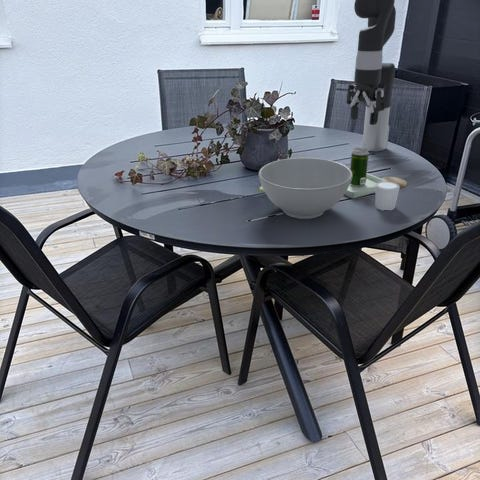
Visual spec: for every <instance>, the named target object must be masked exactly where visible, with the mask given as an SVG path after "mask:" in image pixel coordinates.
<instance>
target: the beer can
mask: <svg viewBox="0 0 480 480" xmlns="http://www.w3.org/2000/svg"><path fill="white" fill-rule="evenodd" d="M350 153H351V155H350V165H349V166H350V168H349V169H350V170H351V171H352V174H353V177H352V180H351V183H350V185H351V186H352V187H363V186H364V185H365V184H366V175H367V173H368V163H369V155H370V154H369V151H368V149H366V148H362V147H354V148H352V150H351V152H350Z"/></svg>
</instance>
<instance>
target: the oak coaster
mask: <svg viewBox="0 0 480 480" xmlns="http://www.w3.org/2000/svg"><path fill="white" fill-rule="evenodd" d="M381 179H383V180H386V181H388V182H394V183H397V184H398V185H399V186H400V188H399V189H401V188H402V189H403V188H405V187H406V186H407V184H408V182H407V181H406V179H403V178H400V177H394V176H389V177H388V176H387V177H382V178H381Z"/></svg>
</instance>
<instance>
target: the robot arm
mask: <svg viewBox="0 0 480 480" xmlns="http://www.w3.org/2000/svg"><path fill="white" fill-rule="evenodd" d="M396 12H397V11H396V7H395V0H354V13H355V14H356V16H357V17H359V18H360V19H367V27H364V28H361V29H360V30H359V33H358V43H357V52H356V57H355V68H354V69H355V70H354V81H353V82H354V83H352V84H349V85H348V87H347V94H346V95H347V96H346V104H347V105H349V107H350V108H351V109H350V119H351V120H353V121H354V120H357V119H358V118H359V109H360V108H359V105H360V104H361V103H364V104H365V112H364V113H365V114H364V124H363V135H362V146H361V148H366V149H368V152H382V151H385V150H386V149H388V142H389V134H390V124H389V120H390V119H389V118H390V112H391V111H390V110H391V102H392V95H393V94H392V93H393V92H392V91H393V86H394V82H395V76H396V66H395V64H394V63H392V62H383V49H384V46H385V45H386V44H387V42H388V41H389V40H390V38H391V37H392V35H393V34H394V32H395V27H396V18H397V17H396V16H397V15H396V14H397V13H396ZM379 89H380V90H379Z"/></svg>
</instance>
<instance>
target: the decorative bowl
mask: <svg viewBox="0 0 480 480" xmlns="http://www.w3.org/2000/svg"><path fill="white" fill-rule="evenodd" d="M352 177H353V174H352V171H351V170H350V168H349V166H347V165H344V164H343V163H340V162H337V161H334V160H329V159H324V158H317V157H316V158H315V157H293V158H292V157H290V158H285V159H279V160H275V161H272V162H269V163H267V164H265V165H264V166H262V167H261V168H260V169H259V171H258V179H259V181H260V185H261V187H262V189H263V192H264V193H265V194H266V196H267V197H268V199H269V200H270V201H271V202H272V203H273V204H274V205H275V206H276V207H278V208H279V209H280V210H282V212H283V213H284V214H285V215H286V216H288V217H291V218H294V219H300V220H305V219H306V220H308V219H315V218H319V217H321V216H322V215H323V214H324V213H325V212H326V211H328V210H329V209H331V208H333V207H334V206H335V205H336V204H338V203H339V202H340V200H341V199H342V198H343V197H344V194H345V192H346V191H347V189H348V187H349V185H350V183H351V180H352Z"/></svg>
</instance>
